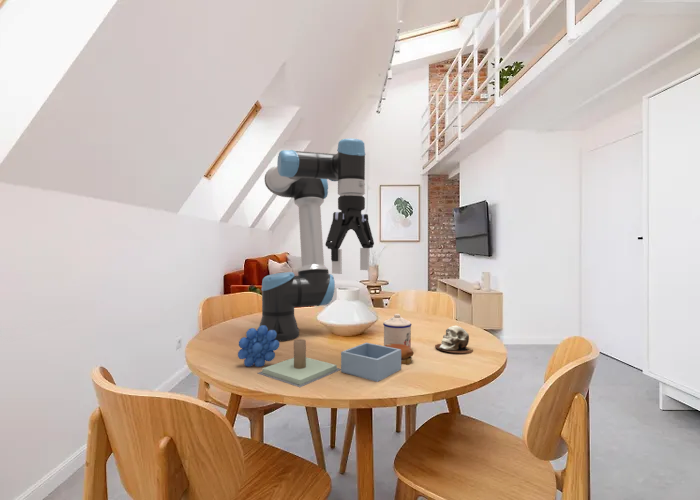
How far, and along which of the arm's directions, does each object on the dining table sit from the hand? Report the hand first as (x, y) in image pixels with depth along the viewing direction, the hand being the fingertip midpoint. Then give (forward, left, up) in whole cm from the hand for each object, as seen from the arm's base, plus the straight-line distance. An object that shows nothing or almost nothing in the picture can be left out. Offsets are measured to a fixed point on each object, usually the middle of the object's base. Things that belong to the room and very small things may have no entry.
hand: (351, 271), depth 109 cm
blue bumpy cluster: (-20, -16, -27) cm, 37 cm away
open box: (+8, -1, -27) cm, 28 cm away
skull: (+16, +34, -27) cm, 46 cm away
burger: (+8, +12, -27) cm, 30 cm away
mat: (-7, -13, -27) cm, 31 cm away
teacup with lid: (+2, +23, -27) cm, 35 cm away
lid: (-7, -13, -26) cm, 30 cm away
